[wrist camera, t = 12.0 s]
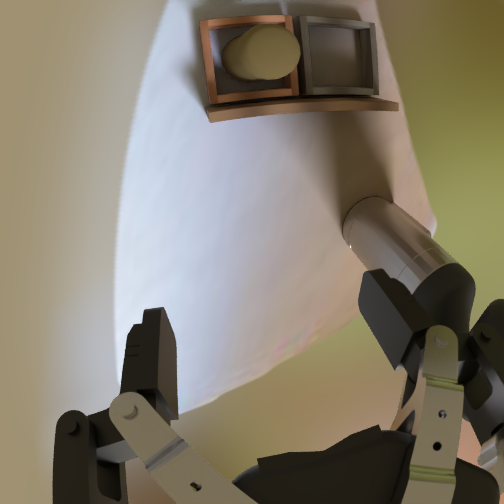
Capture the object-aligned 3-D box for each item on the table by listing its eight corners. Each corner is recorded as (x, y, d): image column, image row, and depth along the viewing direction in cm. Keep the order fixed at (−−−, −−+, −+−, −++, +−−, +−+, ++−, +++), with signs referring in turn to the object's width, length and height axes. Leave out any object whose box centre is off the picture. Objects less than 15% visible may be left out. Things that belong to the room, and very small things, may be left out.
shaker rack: (367, 25, 27) (394, 21, 22) (371, 104, 33) (398, 111, 28) (195, 25, 25) (195, 14, 20) (207, 115, 31) (210, 122, 26)
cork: (284, 67, 29) (324, 64, 20) (240, 92, 30) (262, 98, 21) (257, 25, 26) (285, 4, 17) (211, 51, 27) (219, 37, 18)
